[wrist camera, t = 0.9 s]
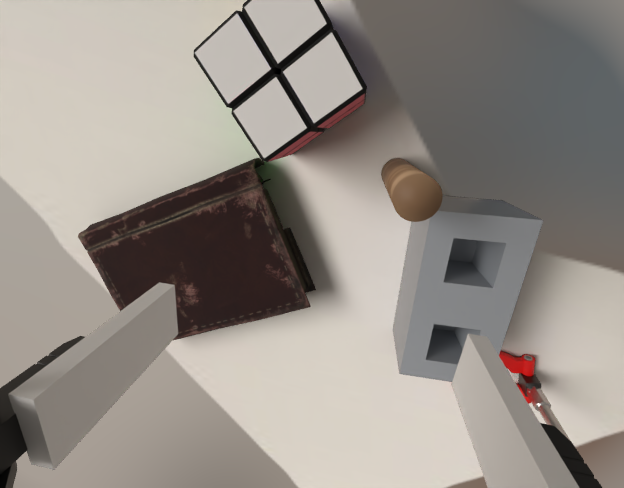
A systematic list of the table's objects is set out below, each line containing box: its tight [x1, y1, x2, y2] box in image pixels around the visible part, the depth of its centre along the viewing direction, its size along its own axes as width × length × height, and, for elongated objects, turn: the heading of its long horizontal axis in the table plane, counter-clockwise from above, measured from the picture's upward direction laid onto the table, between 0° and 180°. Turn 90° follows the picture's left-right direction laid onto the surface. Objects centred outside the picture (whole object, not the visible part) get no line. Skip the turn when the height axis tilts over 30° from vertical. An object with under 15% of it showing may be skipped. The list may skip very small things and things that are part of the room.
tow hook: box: [499, 351, 570, 440], centre depth 35 cm, size 8×13×9 cm
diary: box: [78, 158, 316, 340], centre depth 39 cm, size 19×25×5 cm
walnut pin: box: [381, 158, 443, 222], centre depth 27 cm, size 3×3×14 cm
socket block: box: [393, 196, 543, 382], centre depth 33 cm, size 18×9×8 cm, turn 177°
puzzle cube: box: [194, 0, 367, 162], centre depth 28 cm, size 10×10×10 cm
